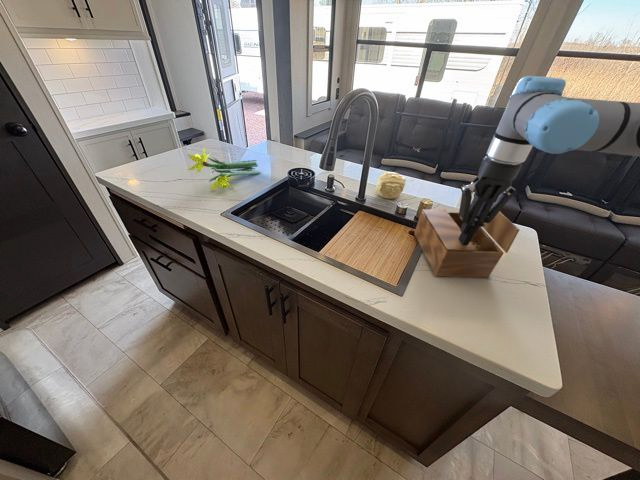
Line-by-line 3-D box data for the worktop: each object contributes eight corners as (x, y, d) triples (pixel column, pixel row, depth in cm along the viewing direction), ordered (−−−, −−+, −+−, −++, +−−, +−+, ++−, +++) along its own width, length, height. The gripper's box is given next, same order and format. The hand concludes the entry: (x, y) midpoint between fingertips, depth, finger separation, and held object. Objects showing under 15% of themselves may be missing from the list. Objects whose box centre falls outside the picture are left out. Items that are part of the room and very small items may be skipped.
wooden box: (491, 277, 75) (522, 229, 65) (435, 276, 75) (457, 228, 64) (460, 234, 92) (480, 191, 81) (414, 233, 91) (428, 190, 81)
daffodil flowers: (271, 179, 125) (213, 186, 96) (251, 188, 133) (191, 197, 104) (259, 145, 123) (195, 142, 93) (240, 156, 130) (175, 157, 101)
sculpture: (376, 201, 110) (381, 177, 103) (373, 188, 119) (377, 166, 112) (403, 202, 109) (409, 179, 103) (397, 189, 119) (403, 167, 112)
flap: (475, 250, 69) (476, 249, 69) (447, 250, 69) (447, 249, 68) (445, 210, 85) (445, 209, 85) (422, 210, 85) (422, 209, 85)
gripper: (521, 154, 60) (479, 234, 74) (467, 152, 59) (435, 233, 74) (544, 166, 54) (493, 251, 68) (483, 164, 53) (445, 250, 68)
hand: (463, 242), depth 71 cm, fingers closed
